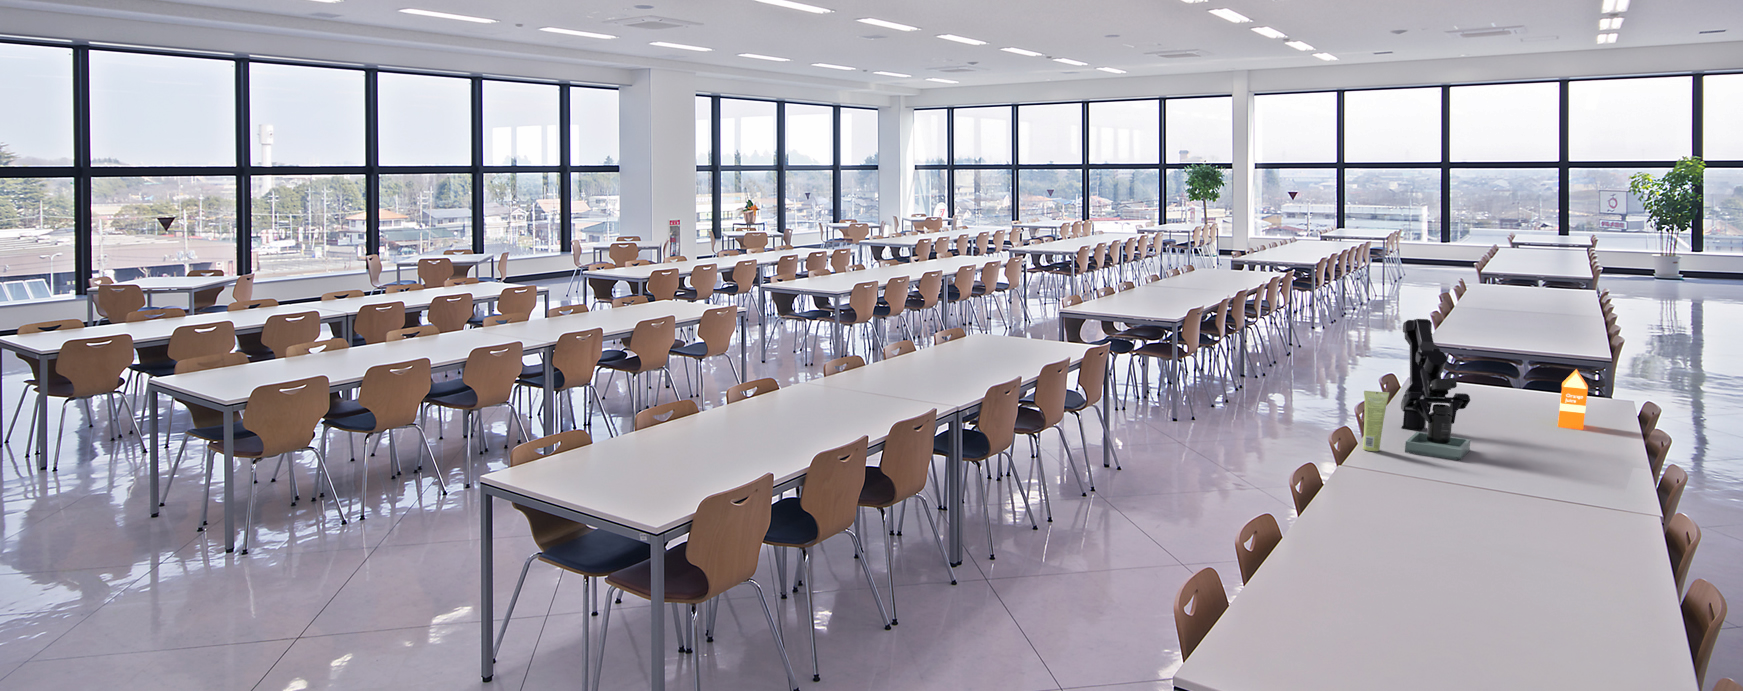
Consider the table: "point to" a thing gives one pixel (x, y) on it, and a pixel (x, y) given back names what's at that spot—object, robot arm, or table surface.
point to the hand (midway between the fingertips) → (1441, 422)
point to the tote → (1437, 447)
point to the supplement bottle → (1440, 425)
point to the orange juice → (1573, 402)
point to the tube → (1374, 419)
